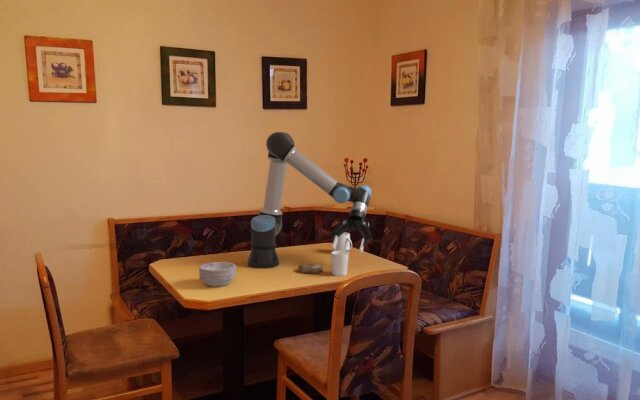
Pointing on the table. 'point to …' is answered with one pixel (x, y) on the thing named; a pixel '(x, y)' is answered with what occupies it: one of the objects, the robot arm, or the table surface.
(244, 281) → the table surface
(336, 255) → the white cup
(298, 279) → the table surface
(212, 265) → the grey bowl
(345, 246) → the mug
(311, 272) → the trivet
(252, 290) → the table surface
